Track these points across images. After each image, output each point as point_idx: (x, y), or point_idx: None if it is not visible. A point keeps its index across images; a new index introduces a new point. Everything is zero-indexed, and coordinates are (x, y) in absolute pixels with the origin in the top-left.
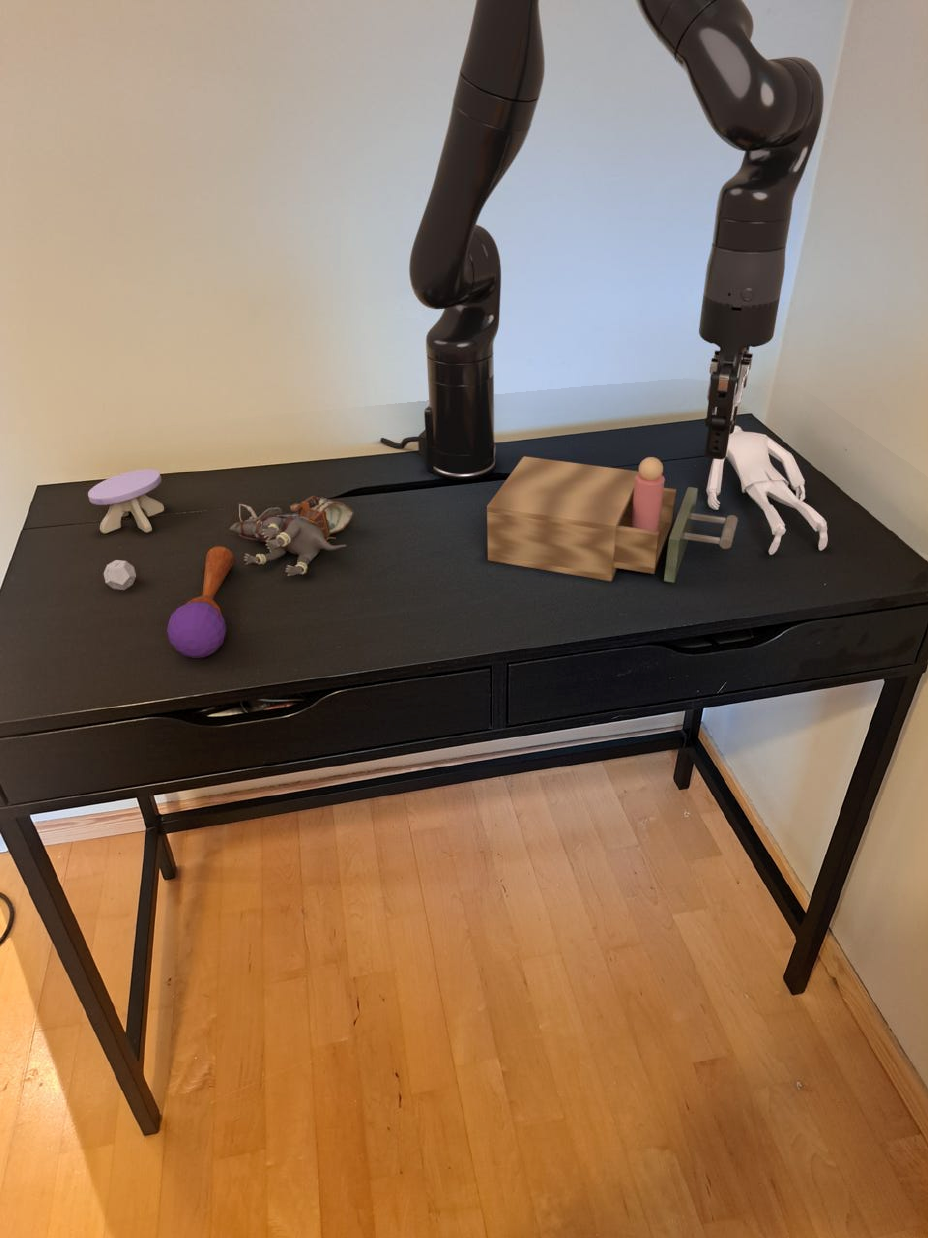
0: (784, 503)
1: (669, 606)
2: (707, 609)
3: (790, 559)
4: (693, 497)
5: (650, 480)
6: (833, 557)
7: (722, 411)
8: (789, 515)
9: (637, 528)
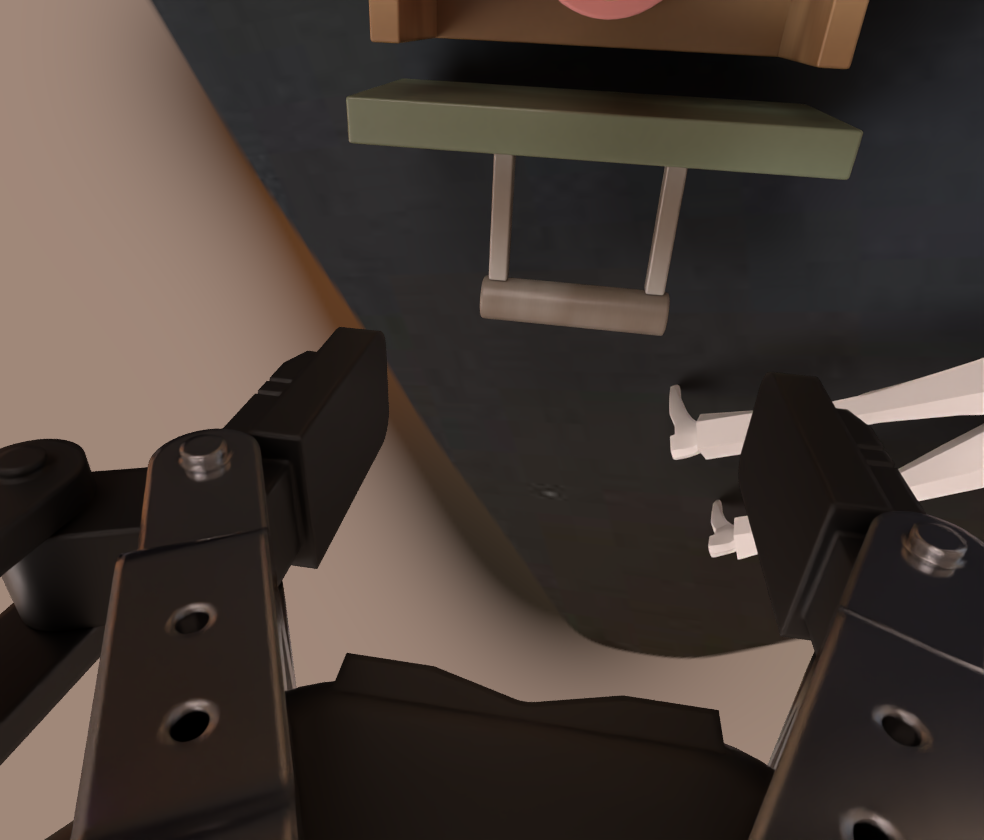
0: (921, 457)
1: (315, 112)
2: (342, 225)
3: (660, 432)
4: (743, 167)
5: None
6: (687, 523)
7: (796, 491)
8: None
9: None
